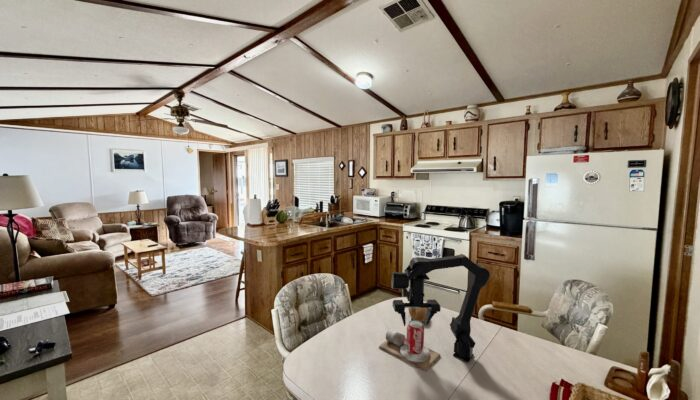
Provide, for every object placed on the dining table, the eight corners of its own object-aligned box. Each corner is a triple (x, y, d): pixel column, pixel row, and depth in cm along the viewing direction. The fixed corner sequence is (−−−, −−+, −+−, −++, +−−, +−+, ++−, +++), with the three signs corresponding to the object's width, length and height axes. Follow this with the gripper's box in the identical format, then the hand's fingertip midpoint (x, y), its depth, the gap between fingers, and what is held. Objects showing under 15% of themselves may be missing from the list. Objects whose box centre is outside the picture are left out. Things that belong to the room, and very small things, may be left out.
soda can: (426, 351, 124) (427, 323, 123) (417, 358, 119) (418, 329, 118) (412, 344, 129) (413, 317, 127) (402, 350, 124) (403, 323, 122)
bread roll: (408, 323, 150) (409, 308, 149) (407, 310, 165) (408, 296, 164) (428, 325, 149) (428, 310, 148) (425, 311, 163) (426, 297, 162)
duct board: (440, 356, 124) (440, 342, 123) (425, 371, 114) (425, 356, 113) (395, 335, 138) (396, 323, 138) (379, 347, 129) (379, 334, 128)
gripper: (432, 281, 130) (431, 315, 132) (390, 281, 129) (389, 316, 131) (441, 292, 119) (440, 328, 120) (395, 292, 118) (394, 329, 120)
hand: (415, 325), depth 123 cm, fingers open, 9 cm apart
